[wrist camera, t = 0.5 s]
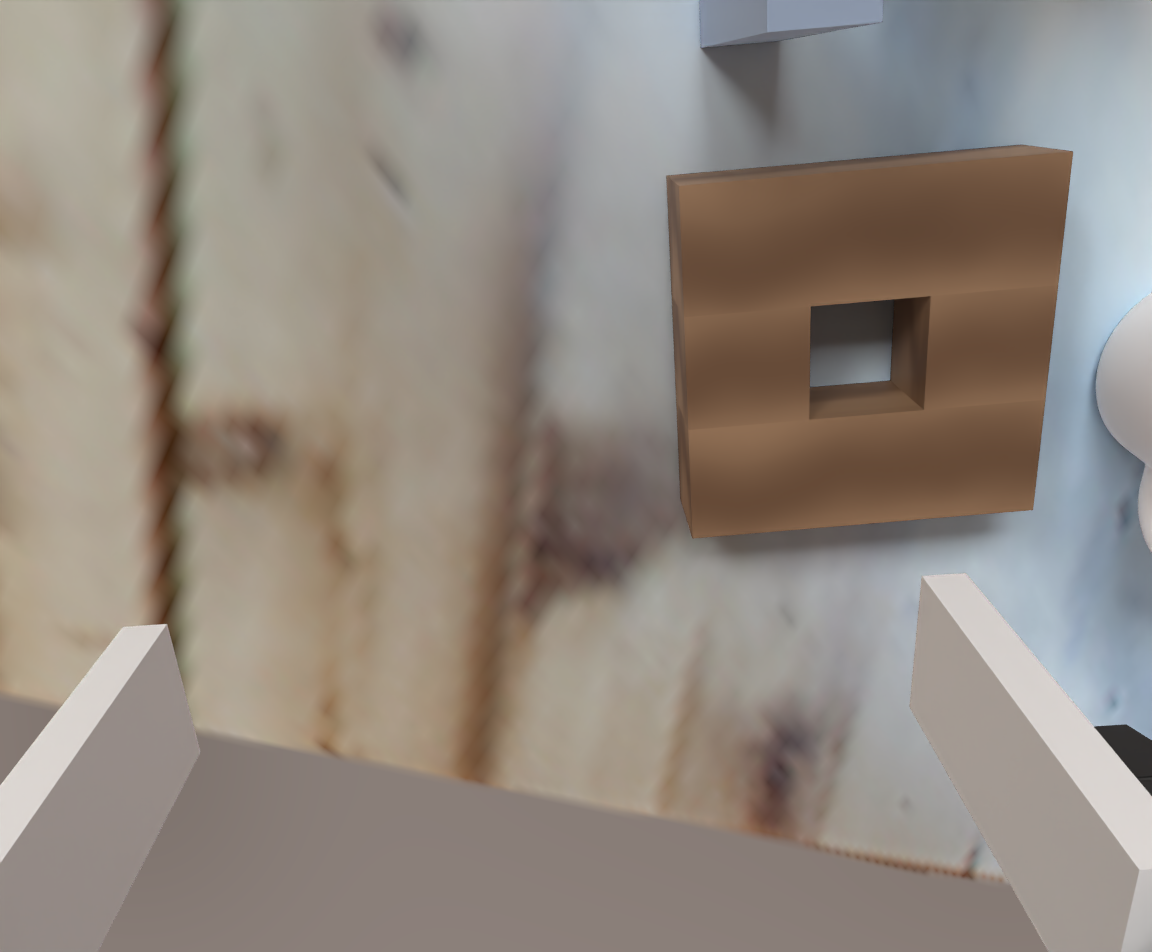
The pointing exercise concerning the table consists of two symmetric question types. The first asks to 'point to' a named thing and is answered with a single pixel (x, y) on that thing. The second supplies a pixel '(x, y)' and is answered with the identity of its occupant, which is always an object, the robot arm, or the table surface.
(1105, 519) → the table surface
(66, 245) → the table surface
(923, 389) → the socket block
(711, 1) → the peg
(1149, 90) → the table surface
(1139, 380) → the mug
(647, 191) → the table surface
